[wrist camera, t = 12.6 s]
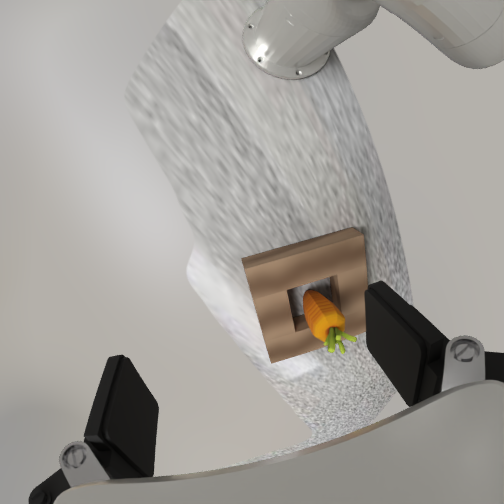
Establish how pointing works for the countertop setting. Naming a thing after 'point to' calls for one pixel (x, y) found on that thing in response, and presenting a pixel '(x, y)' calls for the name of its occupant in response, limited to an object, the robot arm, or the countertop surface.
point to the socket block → (303, 272)
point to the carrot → (325, 320)
